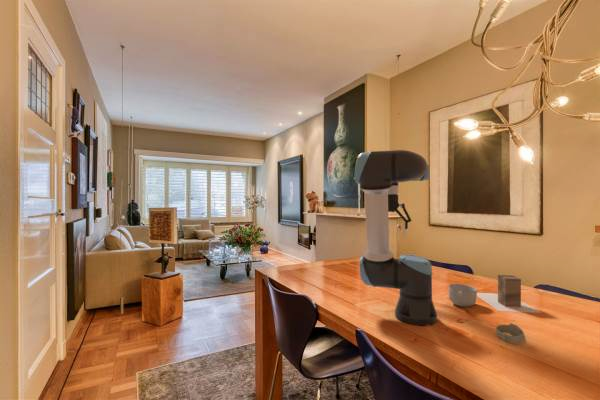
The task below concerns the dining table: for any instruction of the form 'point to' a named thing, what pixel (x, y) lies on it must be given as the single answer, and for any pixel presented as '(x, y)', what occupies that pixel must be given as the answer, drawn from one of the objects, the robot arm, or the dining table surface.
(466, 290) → the teacup
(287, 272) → the dining table surface
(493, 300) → the mat
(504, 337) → the wristwatch
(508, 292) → the walnut block
